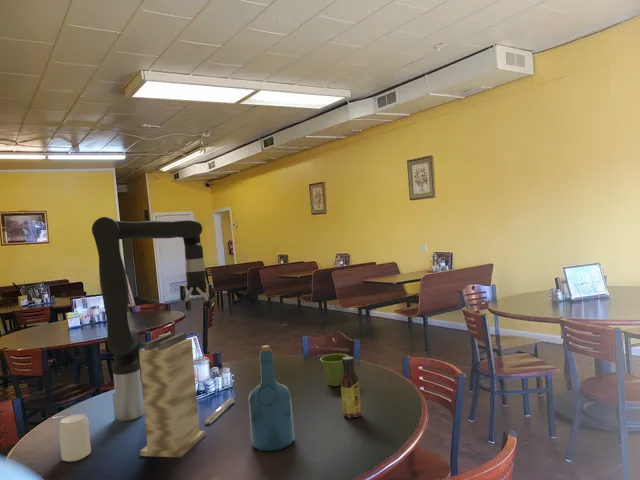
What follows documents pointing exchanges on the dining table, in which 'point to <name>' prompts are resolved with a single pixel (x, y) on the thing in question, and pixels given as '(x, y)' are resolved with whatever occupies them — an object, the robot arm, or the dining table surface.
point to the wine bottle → (270, 409)
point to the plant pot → (333, 368)
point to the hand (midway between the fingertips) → (198, 310)
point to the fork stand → (169, 396)
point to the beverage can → (74, 437)
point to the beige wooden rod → (219, 411)
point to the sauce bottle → (350, 389)
